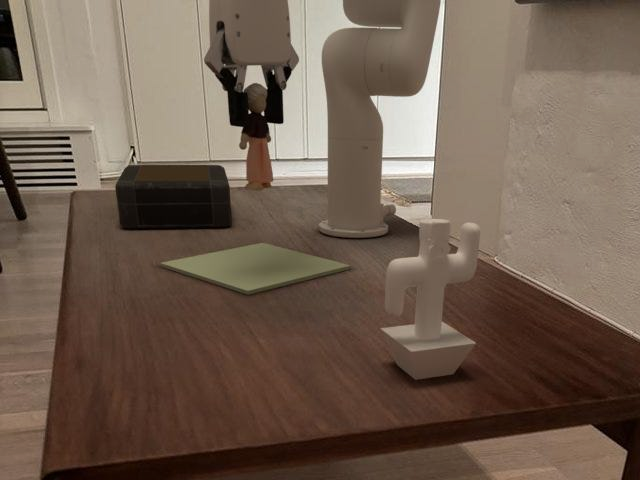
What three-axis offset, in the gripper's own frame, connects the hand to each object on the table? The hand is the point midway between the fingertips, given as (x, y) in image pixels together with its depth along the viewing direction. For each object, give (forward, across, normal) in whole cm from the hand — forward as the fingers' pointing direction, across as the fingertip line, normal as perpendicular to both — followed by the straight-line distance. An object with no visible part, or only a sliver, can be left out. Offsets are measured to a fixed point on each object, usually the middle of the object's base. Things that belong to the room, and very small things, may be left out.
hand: (257, 123), depth 97 cm
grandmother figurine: (+8, 0, 0) cm, 8 cm away
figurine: (+20, +14, +40) cm, 46 cm away
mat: (+20, -1, -3) cm, 20 cm away
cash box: (+21, -16, -43) cm, 50 cm away
